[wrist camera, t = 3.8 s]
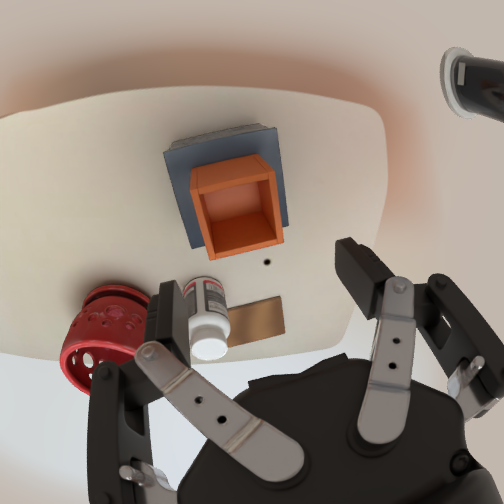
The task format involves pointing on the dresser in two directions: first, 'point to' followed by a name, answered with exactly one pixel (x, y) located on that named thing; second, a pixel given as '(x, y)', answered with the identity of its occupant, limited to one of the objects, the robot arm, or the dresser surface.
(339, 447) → the robot arm
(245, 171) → the orange tub
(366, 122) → the dresser surface
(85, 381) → the flower pot
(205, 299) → the pill bottle
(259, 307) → the cork mat
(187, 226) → the blue tin
